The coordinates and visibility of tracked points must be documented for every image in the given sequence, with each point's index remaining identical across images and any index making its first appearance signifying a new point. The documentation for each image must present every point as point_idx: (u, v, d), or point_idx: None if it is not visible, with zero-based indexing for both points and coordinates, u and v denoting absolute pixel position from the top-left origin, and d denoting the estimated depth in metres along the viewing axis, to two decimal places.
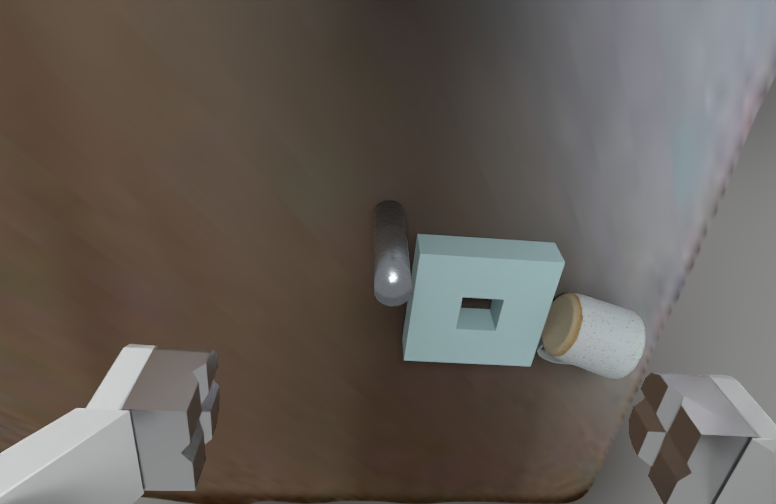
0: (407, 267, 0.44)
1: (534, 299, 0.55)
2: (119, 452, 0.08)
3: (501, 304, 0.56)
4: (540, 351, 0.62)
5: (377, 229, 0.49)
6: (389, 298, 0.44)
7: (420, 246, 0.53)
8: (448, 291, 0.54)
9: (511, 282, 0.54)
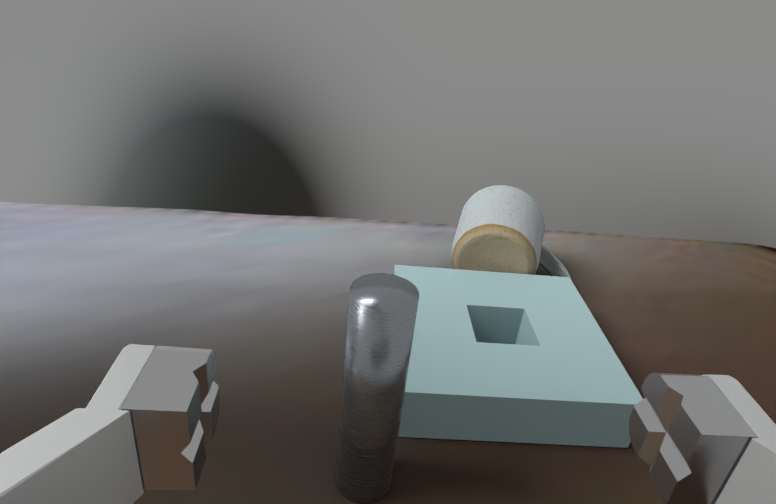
0: None
1: (457, 281, 0.42)
2: (119, 452, 0.08)
3: (478, 309, 0.39)
4: None
5: (352, 438, 0.26)
6: (401, 295, 0.24)
7: None
8: (471, 357, 0.34)
9: (436, 300, 0.39)
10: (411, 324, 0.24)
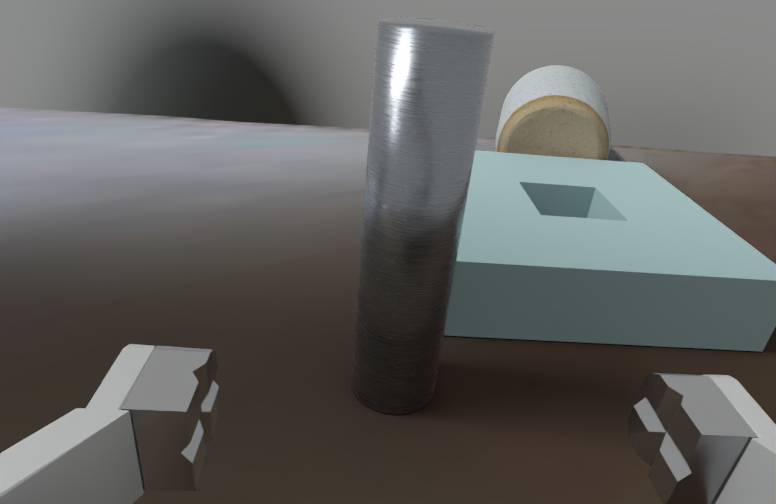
0: None
1: (502, 162, 0.32)
2: (119, 452, 0.08)
3: (535, 188, 0.29)
4: None
5: (379, 301, 0.17)
6: (465, 29, 0.14)
7: None
8: (537, 229, 0.24)
9: (478, 177, 0.29)
10: (482, 78, 0.14)
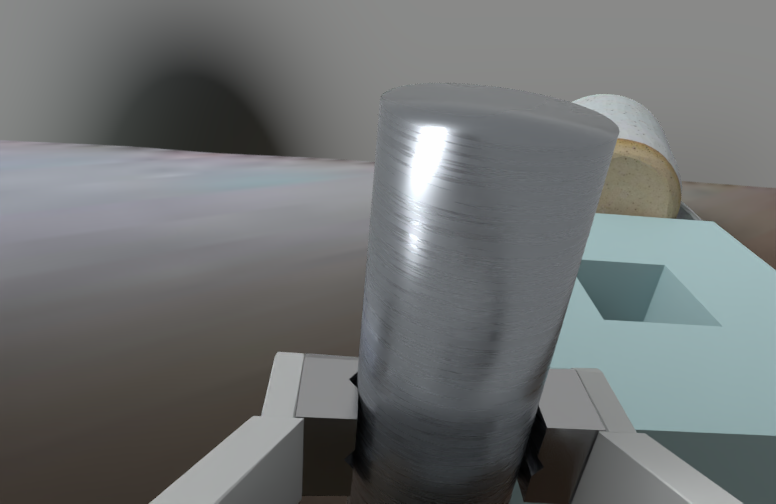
0: None
1: None
2: (292, 459, 0.08)
3: (585, 267, 0.22)
4: None
5: None
6: (558, 120, 0.07)
7: None
8: (603, 348, 0.17)
9: None
10: (592, 218, 0.07)
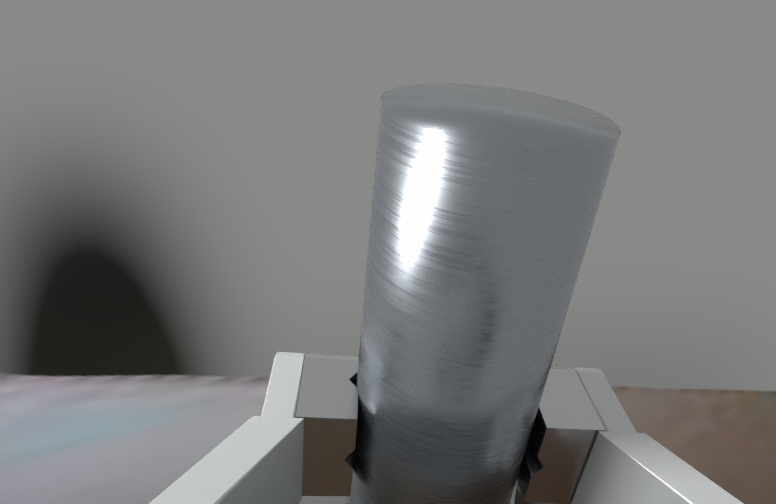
0: None
1: None
2: (292, 459, 0.08)
3: None
4: None
5: None
6: (559, 120, 0.07)
7: None
8: None
9: None
10: (593, 219, 0.07)
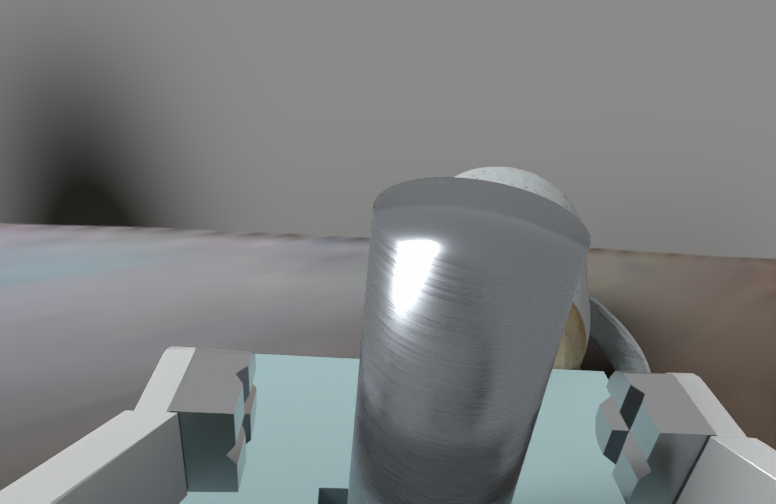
0: None
1: (319, 399, 0.16)
2: (167, 454, 0.08)
3: None
4: None
5: None
6: (535, 228, 0.08)
7: None
8: None
9: None
10: (566, 319, 0.08)
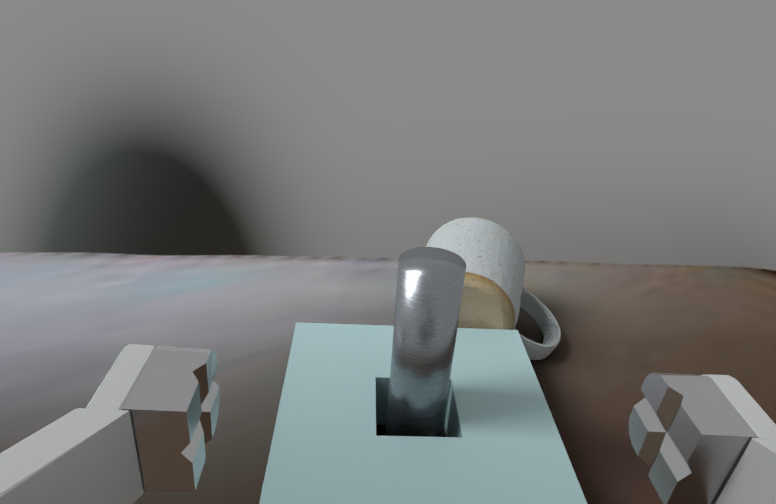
0: None
1: (371, 343, 0.33)
2: (119, 452, 0.08)
3: None
4: (544, 344, 0.37)
5: (402, 410, 0.27)
6: (449, 265, 0.24)
7: None
8: (363, 461, 0.25)
9: (336, 373, 0.30)
10: (459, 293, 0.24)
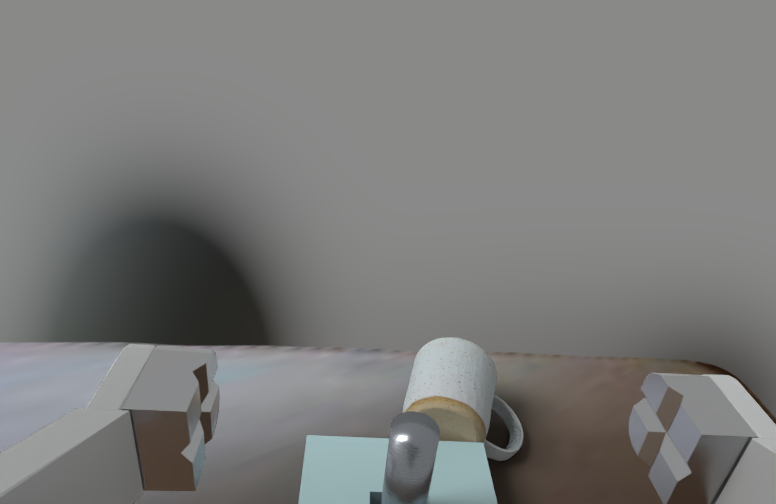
0: None
1: (366, 456, 0.42)
2: (119, 452, 0.08)
3: None
4: (509, 449, 0.46)
5: None
6: (427, 433, 0.33)
7: None
8: None
9: (339, 487, 0.39)
10: (434, 453, 0.33)
